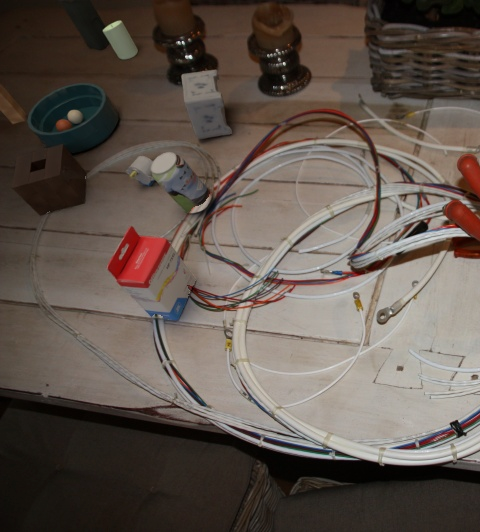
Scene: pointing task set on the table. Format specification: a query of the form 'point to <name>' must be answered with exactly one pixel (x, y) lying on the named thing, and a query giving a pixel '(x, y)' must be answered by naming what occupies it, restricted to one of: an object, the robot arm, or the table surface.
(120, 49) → the candle
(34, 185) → the holder
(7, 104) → the stirring stick
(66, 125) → the terracotta ball
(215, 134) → the white printed box
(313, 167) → the table surface
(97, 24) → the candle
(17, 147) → the table surface
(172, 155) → the beverage can
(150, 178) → the electric motor
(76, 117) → the cream ball
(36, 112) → the bowl
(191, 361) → the table surface
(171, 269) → the ink box
